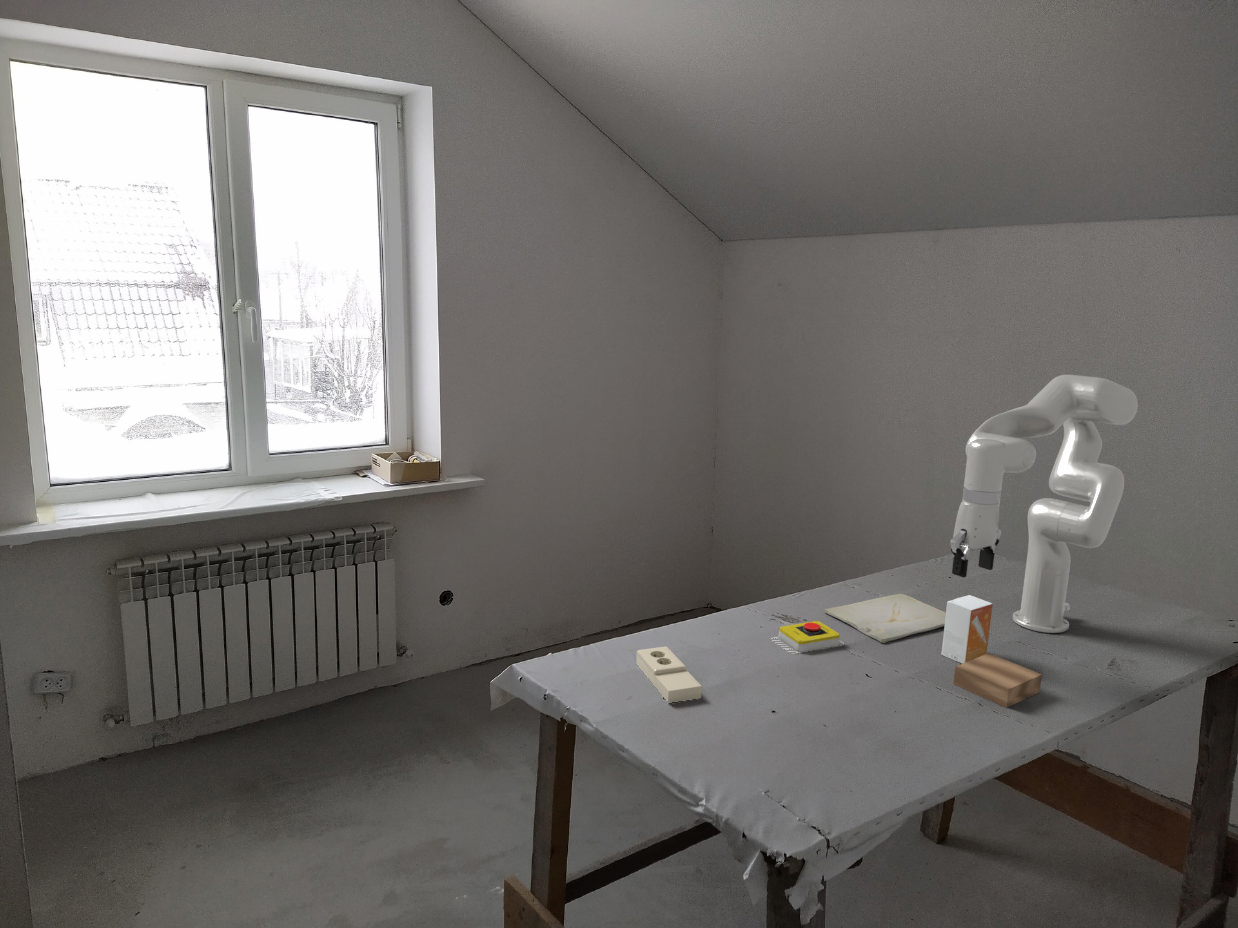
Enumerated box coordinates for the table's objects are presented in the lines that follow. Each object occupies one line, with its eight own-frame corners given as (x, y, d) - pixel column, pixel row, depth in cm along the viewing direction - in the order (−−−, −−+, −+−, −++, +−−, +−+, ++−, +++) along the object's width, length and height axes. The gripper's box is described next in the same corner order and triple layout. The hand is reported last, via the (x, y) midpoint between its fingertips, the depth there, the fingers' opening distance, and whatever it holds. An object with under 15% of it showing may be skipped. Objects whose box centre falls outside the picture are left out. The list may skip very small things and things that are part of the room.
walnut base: (986, 669, 188) (988, 652, 187) (1039, 692, 178) (1042, 674, 177) (953, 683, 181) (955, 666, 180) (1006, 707, 171) (1008, 689, 170)
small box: (965, 665, 190) (971, 610, 187) (940, 655, 195) (946, 600, 192) (987, 657, 194) (993, 602, 191) (962, 647, 199) (968, 593, 196)
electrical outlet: (668, 686, 170) (636, 649, 186) (668, 705, 171) (635, 666, 187) (701, 681, 172) (666, 645, 189) (700, 700, 173) (666, 662, 190)
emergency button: (847, 629, 198) (792, 638, 193) (846, 646, 199) (791, 656, 194) (823, 614, 207) (769, 623, 201) (822, 631, 208) (768, 640, 202)
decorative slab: (883, 647, 200) (884, 639, 199) (820, 615, 218) (821, 608, 217) (963, 625, 213) (964, 618, 212) (898, 597, 231) (898, 590, 230)
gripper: (988, 488, 194) (980, 560, 198) (941, 497, 184) (933, 573, 188) (1020, 495, 188) (1010, 570, 192) (973, 505, 178) (963, 583, 182)
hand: (972, 571), depth 190 cm, fingers open, 9 cm apart
